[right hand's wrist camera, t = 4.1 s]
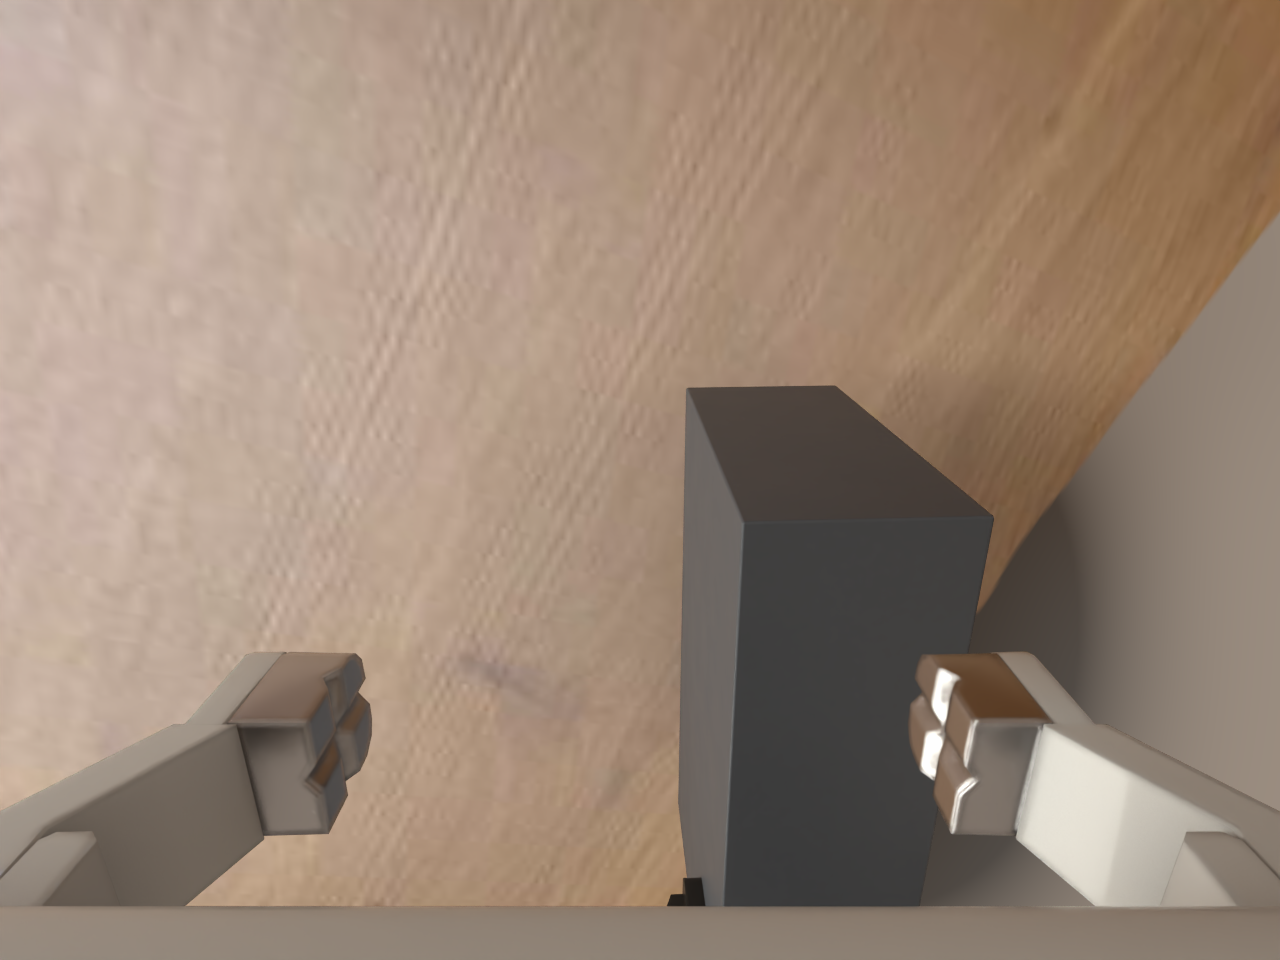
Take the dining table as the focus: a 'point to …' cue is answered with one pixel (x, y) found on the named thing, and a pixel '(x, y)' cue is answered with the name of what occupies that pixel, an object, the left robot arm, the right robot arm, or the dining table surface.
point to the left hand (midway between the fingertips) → (779, 890)
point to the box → (812, 645)
